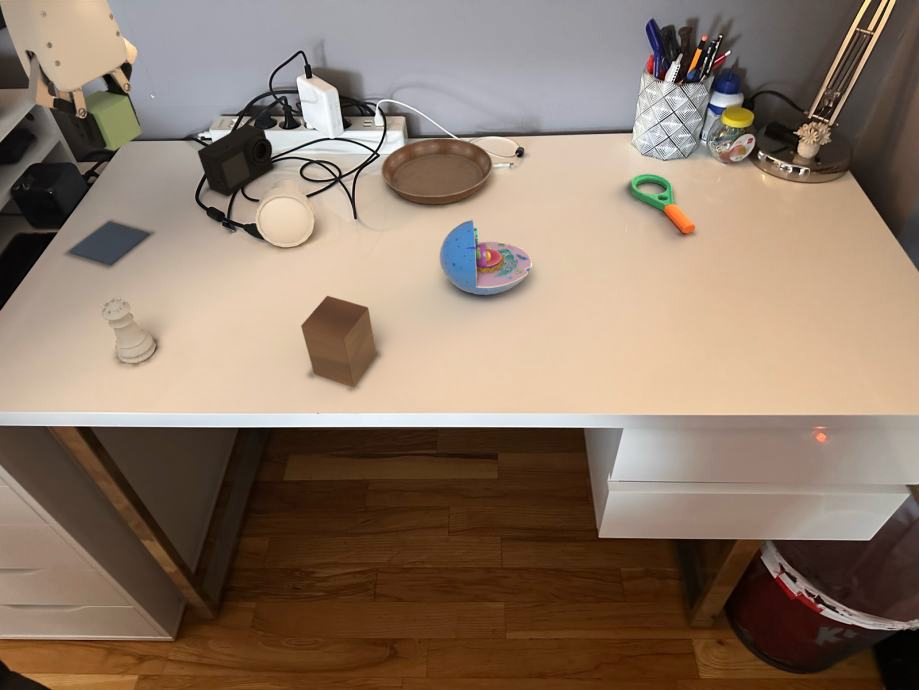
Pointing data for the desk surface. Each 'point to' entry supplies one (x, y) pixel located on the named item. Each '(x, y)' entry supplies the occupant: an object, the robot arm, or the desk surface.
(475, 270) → the cell model
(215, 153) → the digital camera
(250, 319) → the desk surface
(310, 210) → the spotlight
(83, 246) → the coaster
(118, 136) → the top block
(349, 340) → the base block
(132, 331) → the rook chess piece
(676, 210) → the magnifying glass
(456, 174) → the plant saucer
